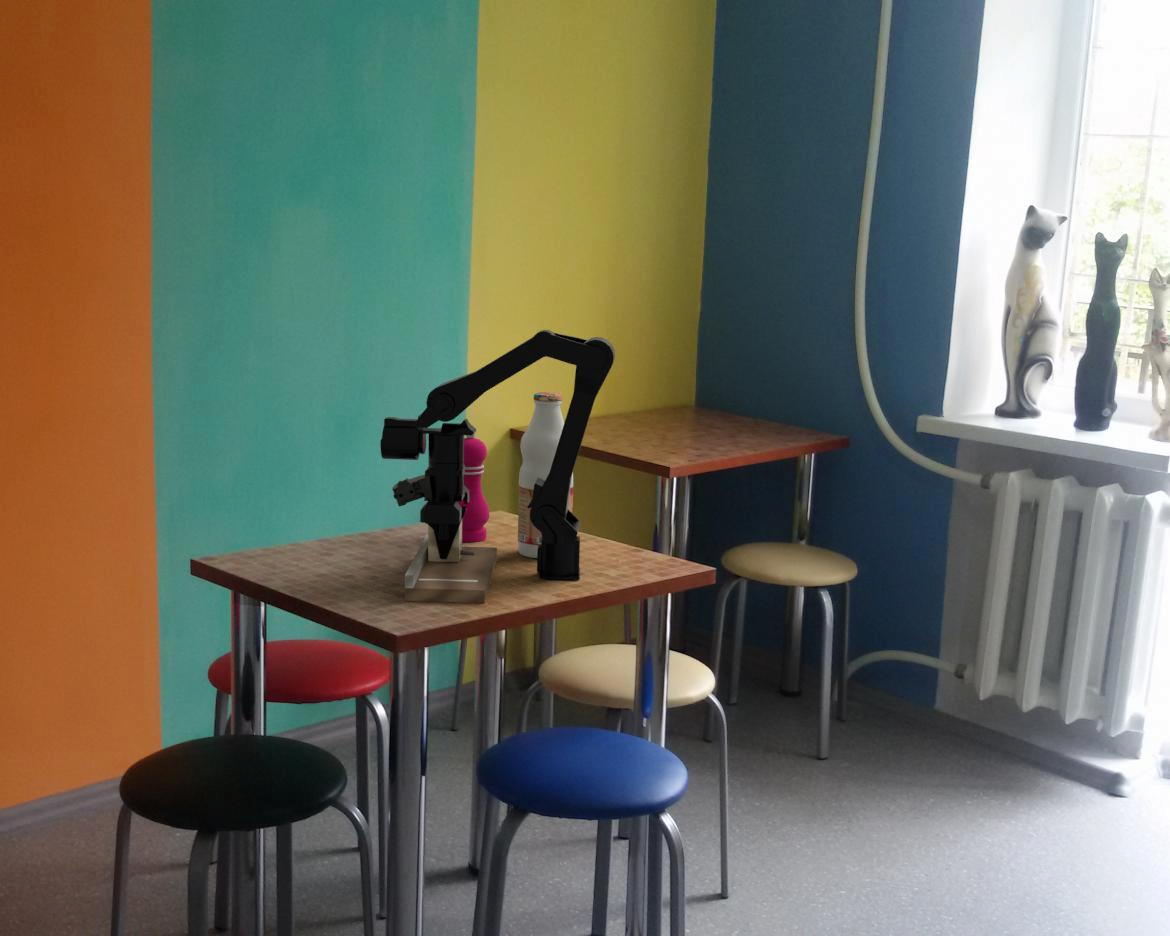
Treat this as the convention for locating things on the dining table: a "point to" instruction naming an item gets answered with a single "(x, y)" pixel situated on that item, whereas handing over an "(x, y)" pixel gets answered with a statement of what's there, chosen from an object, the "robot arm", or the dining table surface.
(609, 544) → the dining table surface
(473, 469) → the pepper mill
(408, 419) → the robot arm
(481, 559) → the walnut board
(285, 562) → the dining table surface
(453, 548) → the beige block
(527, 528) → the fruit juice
